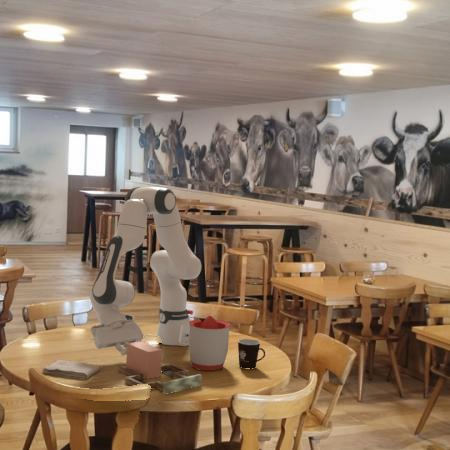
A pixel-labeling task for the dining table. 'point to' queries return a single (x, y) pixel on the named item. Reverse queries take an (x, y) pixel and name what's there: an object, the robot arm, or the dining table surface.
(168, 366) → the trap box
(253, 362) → the coffee mug
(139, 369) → the terracotta block
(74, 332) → the dining table surface
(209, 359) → the citrus juicer
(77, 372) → the washcloth
